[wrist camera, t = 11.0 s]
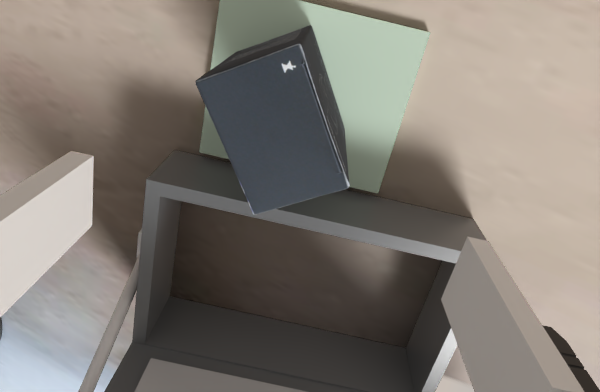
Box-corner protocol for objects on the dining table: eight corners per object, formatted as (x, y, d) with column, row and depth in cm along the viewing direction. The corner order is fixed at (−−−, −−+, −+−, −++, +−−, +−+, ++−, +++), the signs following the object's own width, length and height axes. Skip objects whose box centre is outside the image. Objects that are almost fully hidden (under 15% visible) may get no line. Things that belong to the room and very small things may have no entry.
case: (140, 305, 42) (-8, 549, 24) (154, 145, 35) (-35, 311, 17) (409, 364, 43) (468, 643, 24) (473, 218, 36) (617, 452, 18)
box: (234, 51, 31) (191, 79, 22) (312, 23, 30) (303, 38, 21) (274, 154, 34) (252, 219, 25) (346, 131, 33) (353, 190, 24)
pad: (201, 149, 35) (199, 152, 35) (224, -19, 30) (222, -19, 30) (377, 190, 36) (377, 193, 35) (428, 31, 31) (430, 32, 30)
